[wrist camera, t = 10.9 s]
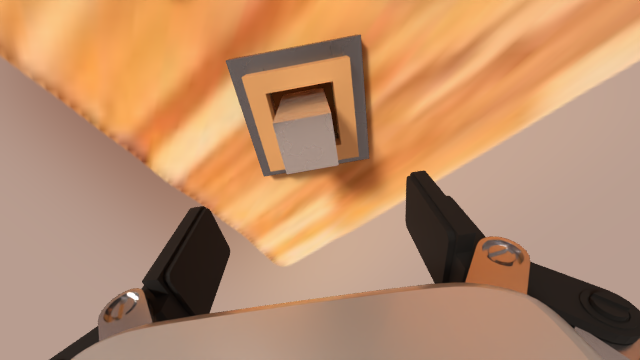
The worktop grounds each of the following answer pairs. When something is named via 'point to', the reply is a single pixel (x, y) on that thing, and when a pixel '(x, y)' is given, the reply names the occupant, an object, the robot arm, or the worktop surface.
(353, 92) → the square socket base
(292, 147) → the block
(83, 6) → the worktop surface
